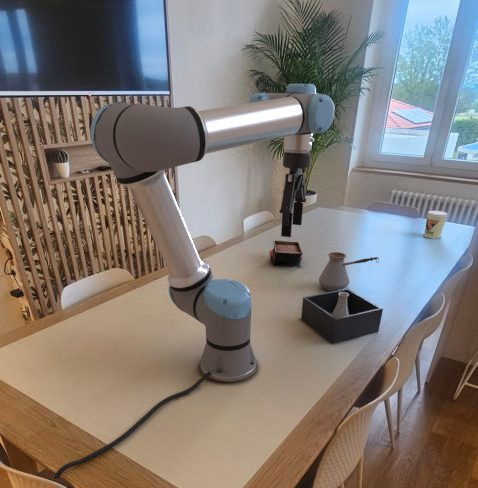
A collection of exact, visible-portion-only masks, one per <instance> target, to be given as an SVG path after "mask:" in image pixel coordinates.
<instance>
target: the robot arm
mask: <svg viewBox="0 0 478 488" xmlns="http://www.w3.org/2000/svg"><path fill="white" fill-rule="evenodd" d="M334 118H335V103H334V101H333V99H332V97H330V96H329V95H328V94H322V93H319V92H318V93H317V87H316V85H315V84H314V83H289V84H288V85H287V86H286V92H264V91H263V92H259V93H254V94H253V95H251V96H250V98H249V99H248V102H246V103H242V104H236V105H235V104H234V105H229V106H227V105H226V106H222V107H221V106H220V107H215V108H208V109H203V110H197V109H196V108H195V107H193V106H191V105H187V106H182V107H180V106H179V107H171V106H170V107H169V106H159V105H152V104H147V103H146V104H145V103H129V102H125V101H116V102H111V103H108V104H105V105H103V106H101V107H100V108H99V109H98V110H97V111H96V113H95V114H94V116H93V117H92V120H91V125H90V130H89V133H90V134H89V135H90V141H91V145H92V146H93V149H94V151H95V152H96V154H97V155H98V156H99V157H100V158H101V159H102V160H103V161H105V162H106V163H108V165H109V167H110V168H111V170H112V173H113V174H114V176H115V178H116V181H117V183H118V184H119V185H121V186H123V187H126V188H128V189H129V192H130V193H131V195H132V198H133V200H134V201H135V204H136V206H137V208H138V209H139V212H140V214H141V216H142V218H143V220H144V222H145V224H146V227H147V228H148V230H149V232H150V235H151V237H152V238H153V241H154V243H155V245H156V247H157V249H158V251H159V254H160V255H161V257H162V259H163V261H164V264H165V266H166V267H167V270H168V271H169V274H168V276H167V283H168V284H169V286H168V294H169V298H170V300H171V301H172V303H173V304H174V305H175V306H176V307H177V309H179V310H180V311H181V312H183V313H185V314H187V315H188V316H190V317H192V318H193V319H194V320H196V321H198V322H199V323H201V324H202V325H204V327H205V346H204V348H203V351H202V355H201V357H200V362H199V363H200V371H201V373H202V374H203V376H202V377H200V378H199V379H197V381H196V382H195V383H194V384H192V385H191V386H190V387H188V388H186V389H185V390H183V391H180V392H178V393H175V394H172V395H170V396H167V397H166V398H163V399H162V400H160V401H159V402H158V403H157V404H156V405H154V406H153V407H152V408H151V409H149V411H147V413H146V414H145V415H144V416H142V417H141V418H140V419H139V420H138V421H136V423H134V424H133V425H132V426H130V428H128V430H127V431H125V432H124V433H123V434H121V435H120V436H119V437H116V438H115V439H114V440H113V441H111V442H110V443H108V444H106V445H104V446H103V447H101V448H99V449H98V450H95V451H94V452H92V453H90V454H88V455H86V456H84V457H82V458H79V459H76V460H73V461H70V462H67V463H65V464H63V465H62V466H61V467H60V468H59V469H58V470H57V471H56V473H55V474H54V476H53V479H55V480H56V479H59V478H60V477H61V475H62V474H64V472H65V471H66V470H67V469H70V468H72V467H75V466H78V465H81V464H83V463H86V462H88V461H90V460H91V459H93V458H95V457H97V456H99V455H101V454H103V453H104V452H106V451H108V450H110V449H112V448H113V447H115V446H116V445H118V444H119V443H121V442H122V441H123V440H124V439H126V438H127V437H128V436H130V435H131V434H132V433H133V432H134V431H136V429H138V428H139V427H140V426H141V425H142V424H143V423H144V422H145V421H146V420H148V419H149V418H150V417H151V415H153V414H154V413H155V412H156V411H157V410H158V409H159V408H161V407H162V406H163V405H165V404H166V403H168V402H169V401H172V400H174V399H176V398H179V397H182V396H184V395H187V394H188V393H190V392H193V391H194V390H195V389H197V388H198V386H200V385H201V384H202V383H203V382H204V381H205V380H206V379H207V378H208V379H209V380H212V381H214V382H219V383H225V384H226V383H228V384H229V383H238V382H243V381H245V380H247V379H249V378H251V377H252V376H253V375H254V374H255V373H256V371H257V359H256V355H255V353H254V349H253V346H252V344H251V331H252V329H251V328H252V327H251V326H252V309H253V308H252V307H253V303H252V295H251V291H250V289H249V288H248V286H247V285H245V284H244V283H242V282H240V281H238V280H235V279H232V280H231V279H229V278H216V279H215V277H214V274H213V272H212V269H211V267H210V264H209V262H207V261H206V260H204V259H201V258H200V255H199V253H198V250H197V249H196V246H195V244H194V241H193V239H192V236H191V234H190V232H189V230H188V227H187V224H186V221H185V219H184V217H183V215H182V211H181V209H180V207H179V205H178V202H177V200H176V198H175V195H174V193H173V190H172V188H171V185H170V183H169V181H168V179H167V176H166V174H165V173H166V170H169V169H173V168H177V167H180V166H184V165H188V164H192V163H197V162H200V161H201V160H203V159H204V157H205V155H207V154H211V153H217V152H221V151H225V150H228V149H234V148H238V147H244V146H249V145H253V144H256V143H261V142H262V143H263V142H266V141H272V140H276V139H280V138H283V149H282V150H284V152H283V153H282V154H283V155H282V166H283V168H286V169H289V171H288V173H285V179H284V187H283V193H282V198H281V199H282V200H281V206H280V209H279V214H282V215H281V233H280V237H284V238H291V237H292V228H293V225H294V226H302V223H303V222H302V221H303V212H304V211H303V210H304V203H307V198H306V169H308V168H310V166H311V160H312V153H311V152H310V151H312V145H313V143H314V142H315V138H314V137H313V134H322V133H325V132H326V131H328V130H329V129H330V127H331V126H332V124H333V121H334Z"/></svg>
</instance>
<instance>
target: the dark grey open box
mask: <svg viewBox="0 0 478 488" xmlns="http://www.w3.org/2000/svg"><path fill="white" fill-rule="evenodd" d="M339 292H346V293H348V294H349V296H348V297H347V307H348V312H349V315H348V316H344V317H340V318H335V317H334V316H332V313H333V311H334V309H335V307H336V305H337V303H338V299H339V295H338V294H339ZM383 311H384V308H383V307H381V306H380V305H377V304H376V303H374V302H372V301H370V300H368V299H367V298H365V297H364V296H362V295H360V294H358V293H356V292H354V291H353V290H351V289H349V288H347V287H346V288H344V289H342V290H337V291H328V292H323V293H322V292H321V293H318V294H313V295H308V296H303V297H302V304H301V314H300V315H301V316H300V320H301V322H303V323H305V324H306V325H307V326H309V327H310V329H311V328H312V330H313V331H315V332H317V333H318V334H320V335H321V336H322V337H323V338H324V339H326V340H327V341H328V342H330V344H336V343H341V342H344V341H348V340H353V339H357V338H360V337H363V336H369V335H371V334H376V333H379V330H380V326H381V322H382V321H381V320H382V317H383Z"/></svg>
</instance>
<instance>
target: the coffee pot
mask: <svg viewBox="0 0 478 488" xmlns="http://www.w3.org/2000/svg"><path fill="white" fill-rule="evenodd" d="M328 257H329V260H328V262H327V263H326V265H325V267H324V269H323V270H322V272H321V273H320V276H319V278H318V283H319V285H320V286H321V287H322V289H324V290H325V291H328V292H332V291H337V290H342V289H346V288H347V287H348V286H349V284H350V278H349V275H348V272H347V268H346V266H349V265H354V264H355V265H356V264H362V263H367V262H373V261H374V260H375V262H376V264H379V263H380V261H378V260H380V258H379V256H374V257H370V258H369V257H368V258H367V257H366V258H361V259H357V260H354V261H349V262H345V258H347V254H345V253H344V252H338V251H336V252H335V251H334V252H333V251H332V252H329V253H328Z"/></svg>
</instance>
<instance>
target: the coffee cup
mask: <svg viewBox="0 0 478 488" xmlns="http://www.w3.org/2000/svg"><path fill="white" fill-rule="evenodd" d="M447 217H448V213H447V212H446V211H443V210H429V211H428V212H427V216H426V222H425V229H424V234H423V237H425V238H427V239H432V240H433V239H434V240H435V239H436V240H437V239H440V238H441V236H442V233H443V229H444V227H445V224H446V220H447Z"/></svg>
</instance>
